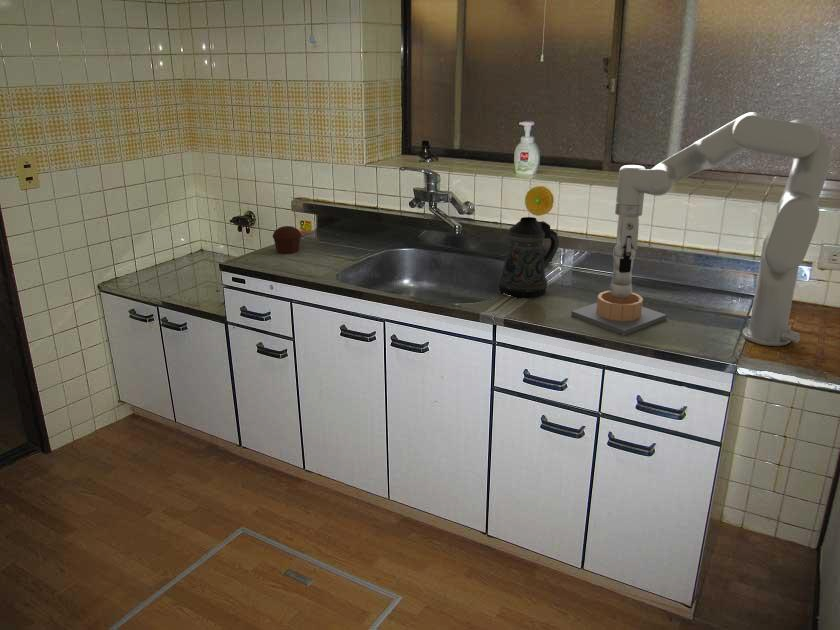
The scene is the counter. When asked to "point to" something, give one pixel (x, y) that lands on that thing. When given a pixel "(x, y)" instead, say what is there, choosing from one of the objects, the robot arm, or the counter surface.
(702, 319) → the counter surface
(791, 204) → the robot arm
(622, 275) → the plastic bottle
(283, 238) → the muffin
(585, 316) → the duct base
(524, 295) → the beer stein
